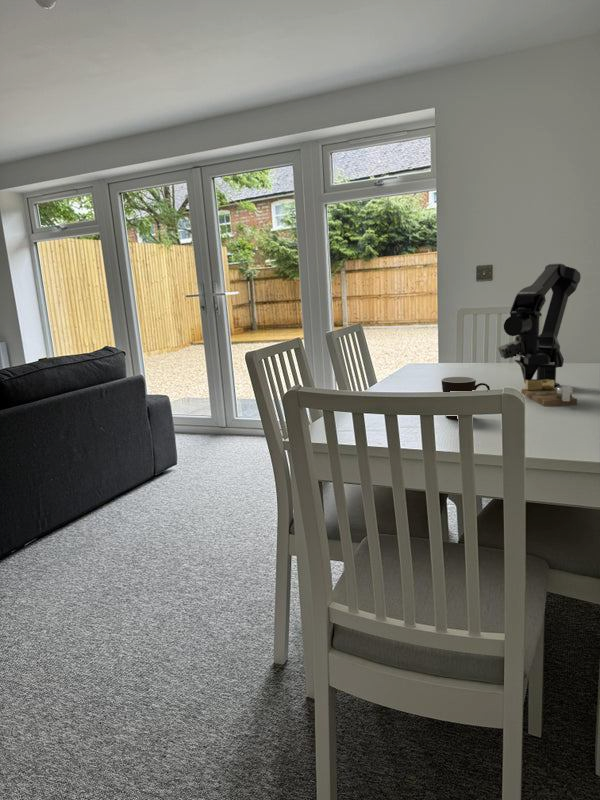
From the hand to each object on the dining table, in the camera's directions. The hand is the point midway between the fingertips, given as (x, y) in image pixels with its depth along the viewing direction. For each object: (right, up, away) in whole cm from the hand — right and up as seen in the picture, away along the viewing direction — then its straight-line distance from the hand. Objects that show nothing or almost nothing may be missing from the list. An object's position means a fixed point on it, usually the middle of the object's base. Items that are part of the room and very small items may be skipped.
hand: (527, 383), depth 176 cm
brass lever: (+2, -2, -5) cm, 6 cm away
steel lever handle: (+3, -4, -19) cm, 19 cm away
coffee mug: (-27, -10, -27) cm, 39 cm away
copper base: (+2, -5, -10) cm, 12 cm away
